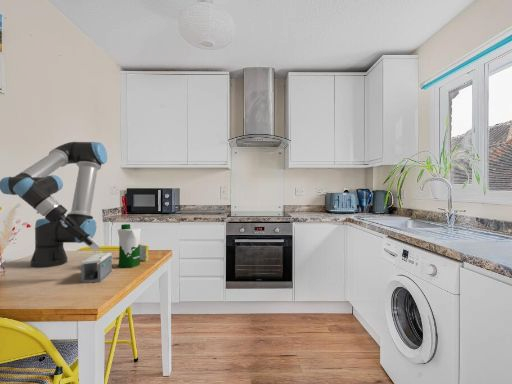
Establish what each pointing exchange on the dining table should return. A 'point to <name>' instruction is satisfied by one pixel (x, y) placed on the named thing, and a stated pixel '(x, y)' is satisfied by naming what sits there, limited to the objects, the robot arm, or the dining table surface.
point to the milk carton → (129, 246)
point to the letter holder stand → (96, 271)
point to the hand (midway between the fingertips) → (97, 249)
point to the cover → (97, 258)
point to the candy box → (144, 252)
